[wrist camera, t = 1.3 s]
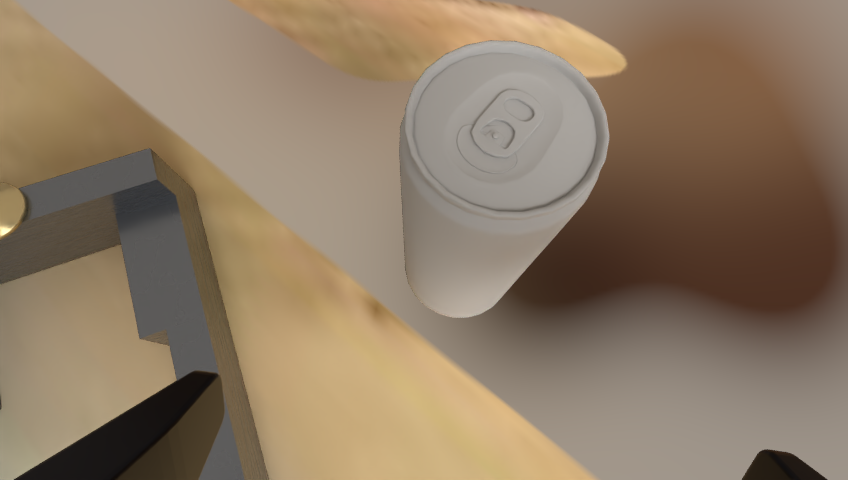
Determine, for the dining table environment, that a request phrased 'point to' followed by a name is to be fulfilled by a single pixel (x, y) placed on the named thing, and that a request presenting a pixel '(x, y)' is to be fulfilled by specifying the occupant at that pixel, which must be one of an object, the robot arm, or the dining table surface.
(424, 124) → the beverage can
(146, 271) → the grey shallow tray
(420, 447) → the dining table surface
